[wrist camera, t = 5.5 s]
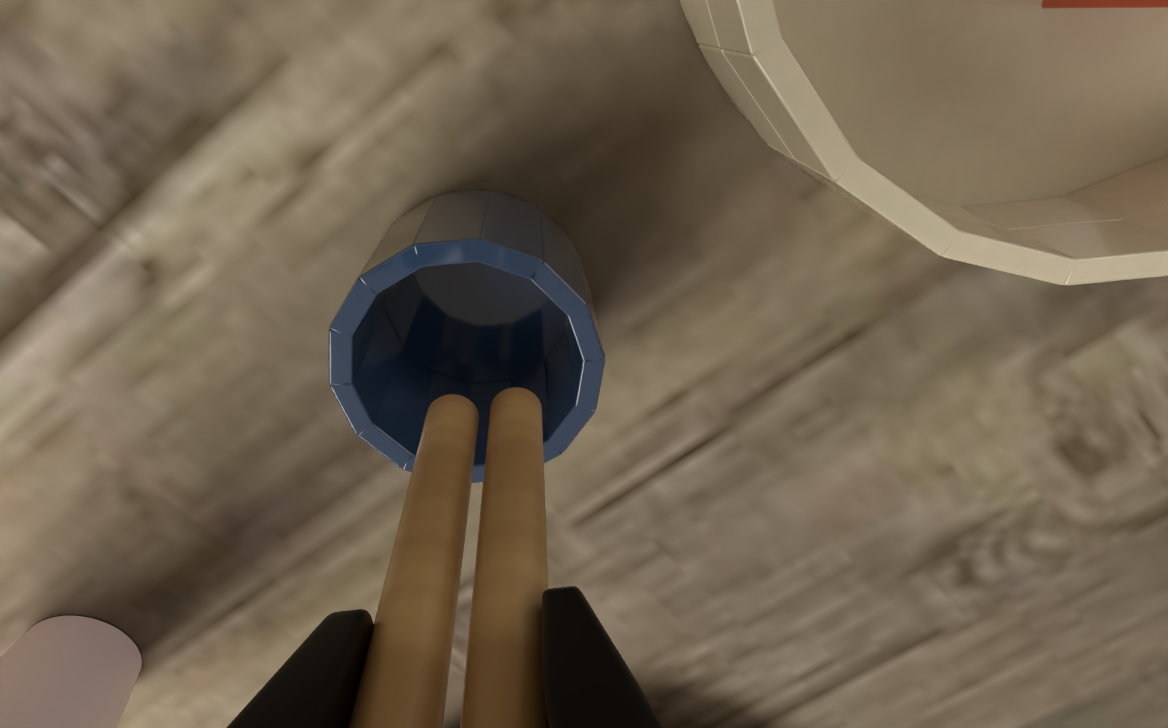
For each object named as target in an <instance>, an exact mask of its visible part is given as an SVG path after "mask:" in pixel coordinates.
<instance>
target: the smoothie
mask: <svg viewBox="0 0 1168 728" xmlns="http://www.w3.org/2000/svg"><path fill="white" fill-rule="evenodd" d="M141 667H142V659H141V655H140V652H139V650H138V648H137V646H136V645H135V643H134V642H133V641H132V640H131V639H130V638H129V637H128V636H127V635H126V634H124V633H123V632H122V631H120V630H119V629H117V628H115V627H114V626H112V625H110V624H107V623H105V622H102V621H100V620H96V619H93V618H88V617H82V616H58V617H52V618H49V619H46V620H43V621H41V622H39V623H37V624H36V625H34V626H33V627H32V628H31V629H30V630H29V631H28V632H27V633H26V634H24V635H23V636H22V637H21V638H20V639H19V640H18V641H17V642H16V643H15V644H14V645H13V646H12V647H11V648H10V649H9V650H8V651H7V652H6V653H5V654H4V655H3V656H2V657H1V658H0V728H117V725H118V723H119V721H120V718H121V716H122V713H123V711H124V709H125V706H126V704H127V702H128V699H129V697H130V694H131V692H132V690H133V687H134V685H135V682H136V680H137V678H138V675H139V673H140V671H141Z"/></svg>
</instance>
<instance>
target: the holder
mask: <svg viewBox="0 0 1168 728" xmlns="http://www.w3.org/2000/svg"><path fill="white" fill-rule="evenodd" d="M604 365H605V353H604V349H603V344H602V340H601V335H600V331H599V326H598V322H597V318H596V313H595V309H594V304H593V300H592V295H591V291H590V288H589V284H588V281H587V278H586V275H585V272H584V268H583V265H582V261H581V259H580V256H579V253H578V250H577V248H576V247H575V245H574V244H573V243H572V242H571V240H570V238H569V237H568V236H567V234H566V233H565V232H564V231H563V229H562V228H561V227H560V226H559V225H558V224H557V223H556V222H555V221H554V220H553V219H552V218H551V217H550V216H548V215H547V214H546V213H544V212H543V211H542V210H540V209H539V208H537V207H536V206H534V205H532V204H530V203H528V202H526V201H525V200H522V199H520V198H517V197H514V196H512V195H509V194H505V193H501V192H496V191H489V190H480V189H478V190H460V191H454V192H448V193H445V194H442V195H438V196H435V197H433V198H431V199H428V200H426V201H424V202H422V203H420V204H419V205H417V206H415V207H414V208H412V209H411V210H409V211H408V212H407V213H406V214H404V215H403V216H402V217H401V218H400V219H398V220H396V221H395V222H394V223H393V224H392V225H391V226H390V228H389V229H388V231H387V232H386V234H385V235H384V237H383V239H382V240H381V242H380V243H379V245H378V246H377V248H376V250H375V251H374V253H373V254H372V256H371V257H370V259H369V260H368V262H367V264H366V265H365V267H364V268H363V270H362V271H361V273H360V275H359V276H358V278H357V279H356V281H355V283H354V285H353V286H352V288H351V290H350V291H349V293H348V295H347V297H346V298H345V300H344V302H343V304H342V305H341V307H340V309H339V311H338V312H337V314H336V316H335V318H334V319H333V321H332V323H331V325H330V329H329V384H330V388H331V390H332V392H333V393H334V395H335V397H336V399H337V401H338V403H339V404H340V406H341V408H342V410H343V412H344V414H345V415H346V417H347V419H348V421H349V423H350V425H351V427H352V428H353V430H354V432H355V433H356V434H357V436H358V437H360V438H361V439H362V440H364V441H365V442H366V443H368V444H369V445H370V446H372V447H373V448H374V449H376V450H377V451H378V452H380V453H381V454H382V455H384V456H385V457H386V458H388V459H389V460H390V461H391V462H393V463H394V464H395V465H397V466H398V467H399V468H403V469H404V470H406V471H410V472H412V470H413V466H414V462H415V458H416V454H417V450H418V446H419V442H420V438H421V434H422V430H423V426H424V422H425V418H426V415H427V411H428V408H429V406H430V405H431V403H432V402H433V401H434V400H436V399H437V398H439V397H441V396H444V395H448V394H456V395H461V396H463V397H466V398H467V399H469V400H470V401H471V402H472V403H473V404H474V405H475V406H476V408H477V410H478V413H479V424H478V432H477V441H476V449H475V457H474V466H473V474H472V483H477V482H483V480H484V469H485V458H486V448H487V437H488V427H489V416H490V406H491V403H492V401H493V399H494V397H495V396H496V395H497V394H498V393H500V392H501V391H503V390H505V389H508V388H513V387H519V388H524V389H527V390H529V391H531V392H532V393H534V394H535V395H536V396H537V398H538V399H539V401H540V403H541V406H542V429H543V457H544V463H545V462H547V461H549V460H551V459H553V458H555V457H557V456H559V455H561V454H562V452H564V451H565V450H566V449H567V447H568V446H569V445H570V443H571V442H572V441H573V440H574V438H575V437H576V436H577V434H578V433H579V432H580V431H581V429H582V428H583V427H584V425H585V424H586V423H587V422H588V420H589V419H590V418H591V416H592V415H593V414H594V412H595V410H596V408H597V403H598V397H599V392H600V387H601V381H602V376H603V370H604Z"/></svg>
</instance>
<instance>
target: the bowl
mask: <svg viewBox="0 0 1168 728" xmlns="http://www.w3.org/2000/svg"><path fill="white" fill-rule="evenodd" d="M680 2H681V6H682V9H683V12H684V14H685V16H686V18H687V21H688V23H689V25H690V27H691V29H692V31H693V34H694V36H695V38H696V41H697V43H698V44H699V48H700V50H701V51H702V53H703V55H704V57H705V60H706V61H707V63H708V64H709V66H710V68H711V69H712V71H713V72H714V74H715V75H716V77H717V79H718V80H719V82H720V83H721V85H722V86H723V88H724V90H725V91H726V93H727V94H728V96H729V98H730V99H731V101H732V102H733V103H734V104H735V106H736V107H737V108H738V109H739V110H740V111H741V113H742V114H743V115H744V116H745V117H746V118H747V120H748V121H749V122H750V123H751V124H752V125H753V127H754V128H755V129H756V130H757V132H758V133H759V135H760V136H761V138H762V139H763V140H764V142H765V143H767V144H768V146H769V147H771V148H772V149H774V150H775V151H776V152H778V153H779V154H781V155H782V156H784V157H785V158H787V159H788V160H789V161H791V162H792V163H793V164H794V165H795V166H797V167H799V168H800V169H802V170H803V171H805V172H807V173H808V174H810V175H811V176H812V177H814V178H815V179H817V180H818V181H820V182H821V183H823V184H824V185H825V186H827V187H828V188H830V189H831V190H833V191H834V192H835V193H837V194H838V195H840V196H841V197H843V198H844V199H846V200H847V201H848V202H850V203H851V204H853V205H855V206H856V207H858V208H860V209H861V210H863V211H865V212H866V213H868V214H870V215H871V216H873V217H875V218H877V219H878V220H880V221H882V222H883V223H885V224H887V225H889V226H890V227H892V228H893V229H895V230H897V231H898V232H900V233H902V234H903V235H905V236H907V237H908V238H910V239H912V240H913V241H915V242H917V243H919V244H920V245H922V246H924V247H925V248H927V249H929V250H930V251H932V252H934V253H935V254H937V255H939V256H942V257H944V258H948V259H952V260H956V261H961V262H965V263H969V264H973V265H977V266H982V267H986V268H990V269H994V270H998V271H1003V272H1007V273H1011V274H1015V275H1019V276H1024V277H1028V278H1032V279H1036V280H1040V281H1045V282H1049V283H1053V284H1057V285H1076V284H1087V283H1097V282H1108V281H1119V280H1129V279H1140V278H1150V277H1161V276H1168V8H1042V2H1043V0H680Z"/></svg>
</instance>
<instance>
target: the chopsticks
mask: <svg viewBox="0 0 1168 728" xmlns="http://www.w3.org/2000/svg"><path fill="white" fill-rule="evenodd" d="M478 424H479V413H478V410H477V408H476V406H475V405H474V404H473V403H472V402H471V401H470V400H469V399H467V398H466V397H463V396H461V395H456V394H448V395H444V396H441V397H439V398H437V399H436V400H434V401H433V402H432V403H431V405H430V406H429V408H428V411H427V415H426V418H425V422H424V426H423V430H422V434H421V438H420V442H419V446H418V450H417V454H416V458H415V462H414V466H413V470H412V474H411V478H410V482H409V486H408V490H407V494H406V498H405V502H404V506H403V510H402V514H401V518H400V522H399V526H398V530H397V534H396V538H395V542H394V546H393V550H392V554H391V558H390V562H389V566H388V570H387V574H386V578H385V582H384V586H383V590H382V594H381V598H380V602H379V606H378V610H377V614H376V618H375V622H374V627H373V631H372V635H371V639H370V643H369V647H368V651H367V655H366V659H365V663H364V667H363V671H362V675H361V679H360V683H359V687H358V691H357V695H356V699H355V703H354V707H353V711H352V715H351V719H350V723H349V727H348V728H442V726H443V717H444V709H445V701H446V692H447V684H448V676H449V667H450V659H451V650H452V642H453V634H454V625H455V617H456V608H457V600H458V592H459V583H460V575H461V566H462V558H463V550H464V541H465V533H466V524H467V516H468V508H469V499H470V491H471V483H472V474H473V466H474V457H475V449H476V441H477V432H478ZM546 589H548V569H547V541H546V513H545V485H544V457H543V429H542V406H541V403H540V401H539V399H538V398H537V396H536V395H535V394H534V393H532V392H531V391H529V390H527V389H524V388H519V387H513V388H508V389H505V390H503V391H501V392H500V393H498V394H497V395H496V396H495V397H494V399H493V401H492V403H491V406H490V416H489V427H488V437H487V448H486V458H485V469H484V480H483V490H482V501H481V511H480V522H479V533H478V543H477V554H476V564H475V575H474V586H473V596H472V607H471V617H470V628H469V639H468V649H467V660H466V670H465V681H464V692H463V702H462V713H461V723H460V728H549V725H548V718H547V711H546V704H545V697H544V690H543V684H542V594H543V592H544V591H545V590H546Z"/></svg>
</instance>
